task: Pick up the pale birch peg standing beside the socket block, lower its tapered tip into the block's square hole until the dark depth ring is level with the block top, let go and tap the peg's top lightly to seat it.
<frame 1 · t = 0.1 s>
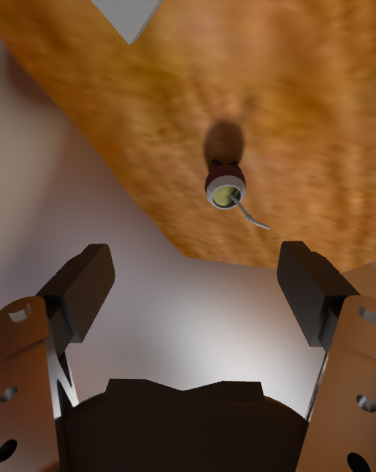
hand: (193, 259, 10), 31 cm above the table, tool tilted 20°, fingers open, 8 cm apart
mate gourd: (225, 170, 42), on the table
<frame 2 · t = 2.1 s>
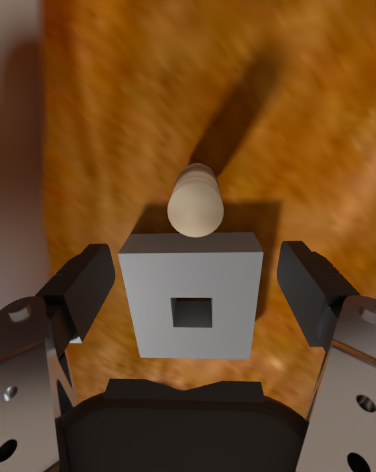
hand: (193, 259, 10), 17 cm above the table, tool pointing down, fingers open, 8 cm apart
socket block: (193, 287, 33), on the table
peg: (197, 178, 26), on the table
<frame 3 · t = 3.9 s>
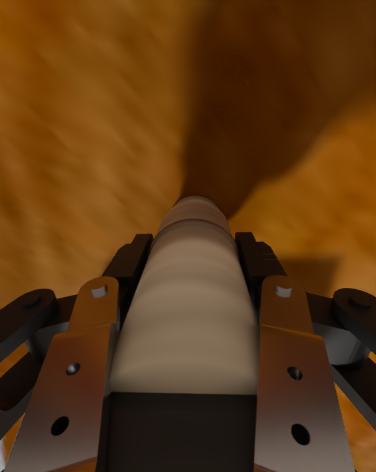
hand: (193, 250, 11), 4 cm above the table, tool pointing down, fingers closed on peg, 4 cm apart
peg: (195, 220, 15), on the table, touching gripper
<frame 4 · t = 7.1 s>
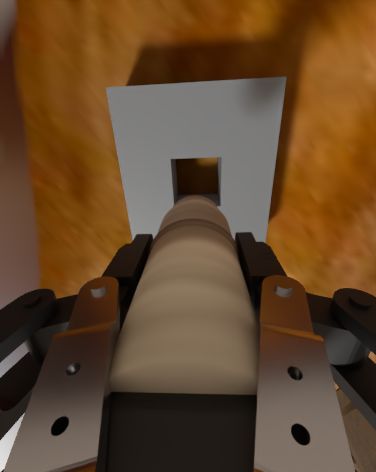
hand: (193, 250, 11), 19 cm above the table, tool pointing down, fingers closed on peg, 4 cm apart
wooden container: (364, 397, 48), on the table
socket block: (197, 174, 28), on the table
peg: (195, 220, 15), point 15 cm above the table, touching gripper
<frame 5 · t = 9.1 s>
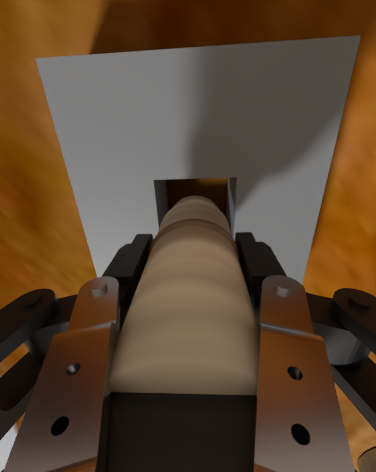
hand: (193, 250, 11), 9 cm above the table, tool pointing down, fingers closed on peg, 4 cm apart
socket block: (196, 195, 19), on the table
peg: (195, 220, 15), point 5 cm above the table, touching gripper
when the fingers open (6 cm above the table, at t = 10.5 s): peg drops 2 cm, resting in socket block.
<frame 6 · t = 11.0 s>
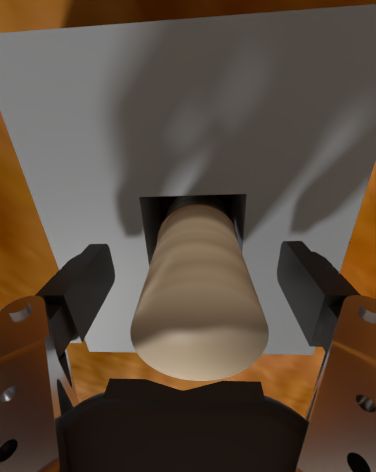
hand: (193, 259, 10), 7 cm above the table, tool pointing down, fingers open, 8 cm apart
socket block: (195, 210, 16), on the table
peg: (196, 210, 16), resting in socket block
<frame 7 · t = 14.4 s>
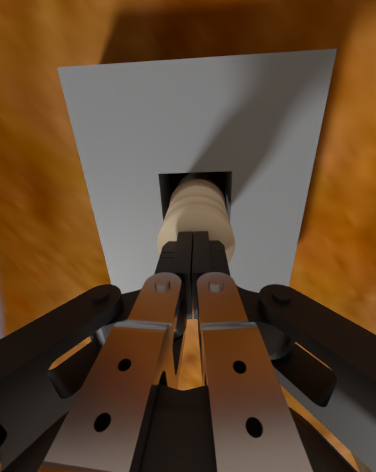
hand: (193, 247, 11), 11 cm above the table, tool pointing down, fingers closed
socket block: (196, 189, 21), on the table
peg: (197, 189, 21), resting in socket block, touching gripper
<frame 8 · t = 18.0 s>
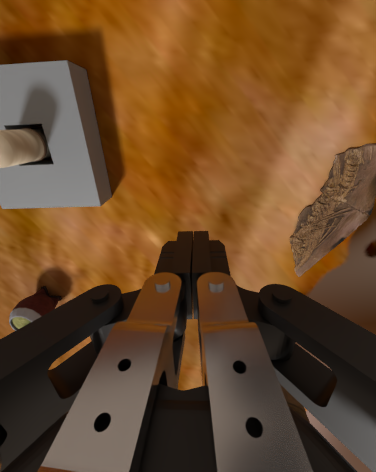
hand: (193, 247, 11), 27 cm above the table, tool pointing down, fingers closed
mate gourd: (50, 297, 50), on the table
wooden fragment: (329, 217, 39), on the table
socket block: (51, 142, 35), on the table
peg: (52, 142, 35), resting in socket block
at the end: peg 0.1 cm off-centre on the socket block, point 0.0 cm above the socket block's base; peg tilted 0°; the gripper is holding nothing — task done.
